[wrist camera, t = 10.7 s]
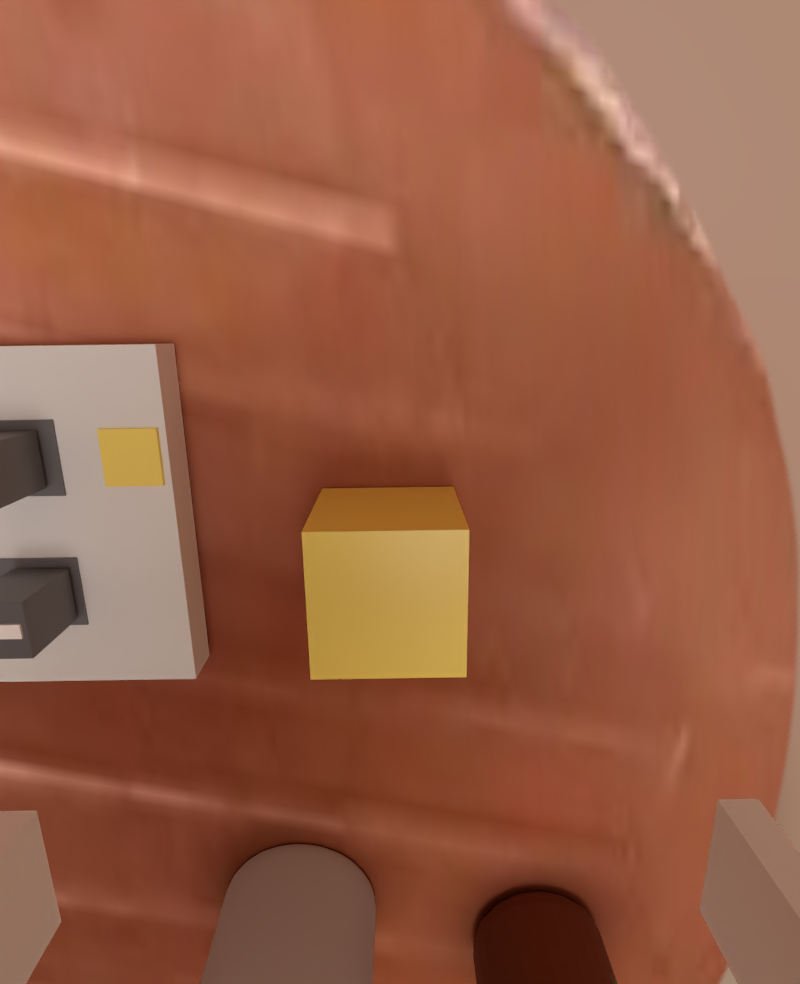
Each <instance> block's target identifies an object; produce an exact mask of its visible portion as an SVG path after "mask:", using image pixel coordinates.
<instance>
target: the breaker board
mask: <svg viewBox="0 0 800 984" xmlns="http://www.w3.org/2000/svg"><path fill="white" fill-rule="evenodd" d="M0 431H36V435H37V440H38V446H39V451H40V457H41V462H42V468H43V473H44V479H45V484H46V488H45V489H43V490H41V491H39V492H36V493H34V494H32V495H30V496H27V497H25V498H23V499H21V500H18V501H16V502H14V503H12V504H9V505H7V506H5V507H3V508H0V577H1V576H3V575H4V574H6V573H7V572H9V571H11V570H12V569H68V571H69V576H70V582H71V587H72V593H73V599H74V604H75V610H76V615H77V620H76V621H74V622H73V623H72V624H71V625H70V626H69V627H68V628H67V629H65V630H64V631H63V632H62V633H61V634H60V635H59V636H58V637H57V638H55V639H54V640H53V641H52V642H51V643H50V644H49V645H48V646H47V647H45V648H44V649H43V650H42V651H41V652H40V653H39V654H38V655H37V656H35V657H34V658H30V659H0V682H25V681H89V680H154V679H196V678H197V676H198V675H199V673H200V671H201V670H202V668H203V666H204V664H205V663H206V661H207V659H208V657H209V656H210V655H209V646H208V637H207V628H206V620H205V611H204V602H203V593H202V585H201V576H200V567H199V558H198V549H197V541H196V532H195V523H194V514H193V506H192V497H191V488H190V479H189V470H188V462H187V453H186V444H185V435H184V427H183V418H182V409H181V400H180V391H179V383H178V374H177V365H176V356H175V348H174V343H167V344H93V345H18V346H0Z"/></svg>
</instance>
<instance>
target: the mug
mask: <svg viewBox="0 0 800 984" xmlns="http://www.w3.org/2000/svg"><path fill="white" fill-rule="evenodd" d="M375 925H376V903H375V896H374V892H373V889H372V886H371V884H370V882H369V880H368V878H367V877H366V876H365V874H364V873H363V872H362V870H361V869H360V868H359V867H358V866H357V865H356V864H355V863H353V862H352V861H351V860H350V859H348V858H347V857H345V856H343V855H342V854H340V853H338V852H336V851H333V850H330V849H328V848H324V847H320V846H316V845H309V844H289V845H282V846H277V847H274V848H271V849H268V850H265V851H263V852H261V853H259V854H257V855H256V856H254V857H252V858H251V859H250V860H248V861H247V862H246V863H244V864H243V865H242V866H241V868H240V869H239V870H238V871H237V872H236V874H235V875H234V877H233V878H232V880H231V882H230V884H229V886H228V889H227V892H226V895H225V898H224V901H223V905H222V908H221V912H220V915H219V919H218V923H217V927H216V930H215V934H214V937H213V941H212V944H211V948H210V951H209V955H208V958H207V961H206V965H205V968H204V972H203V975H202V978H201V982H200V984H372V983H373V959H374V942H375Z"/></svg>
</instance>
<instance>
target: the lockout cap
mask: <svg viewBox="0 0 800 984" xmlns="http://www.w3.org/2000/svg"><path fill="white" fill-rule="evenodd" d="M302 549H303V565H304V581H305V597H306V613H307V629H308V645H309V662H310V678H311V680H315V679H379V678H443V677H466V676H467V627H468V578H469V527H468V524H467V522H466V519H465V516H464V514H463V511H462V508H461V506H460V503H459V500H458V498H457V495H456V492H455V490H454V487H453V486H452V487H383V488H322V490H321V492H320V494H319V496H318V498H317V500H316V502H315V505H314V507H313V509H312V511H311V513H310V515H309V517H308V519H307V522H306V524H305V526H304V528H303V530H302Z"/></svg>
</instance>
